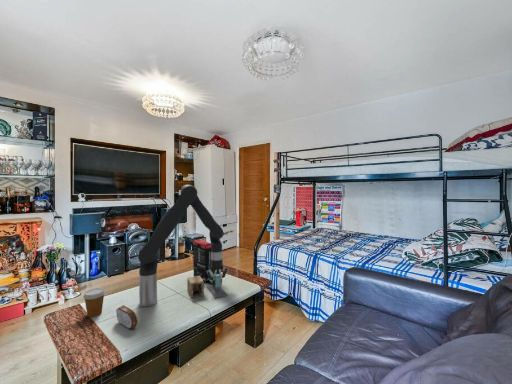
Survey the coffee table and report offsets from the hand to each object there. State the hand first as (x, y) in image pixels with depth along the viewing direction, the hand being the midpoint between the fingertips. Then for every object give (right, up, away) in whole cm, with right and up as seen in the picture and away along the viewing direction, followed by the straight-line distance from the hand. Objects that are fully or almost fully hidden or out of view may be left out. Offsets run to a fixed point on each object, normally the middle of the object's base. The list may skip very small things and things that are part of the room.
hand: (217, 284), depth 153 cm
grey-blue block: (-2, 0, +4) cm, 4 cm away
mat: (0, -4, 0) cm, 4 cm away
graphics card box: (-14, -4, +22) cm, 27 cm away
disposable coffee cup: (-60, -5, -27) cm, 66 cm away
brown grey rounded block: (-38, -5, -38) cm, 54 cm away
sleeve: (-13, -4, -3) cm, 14 cm away
